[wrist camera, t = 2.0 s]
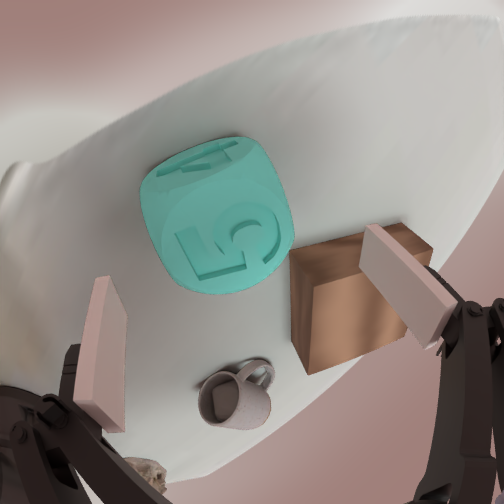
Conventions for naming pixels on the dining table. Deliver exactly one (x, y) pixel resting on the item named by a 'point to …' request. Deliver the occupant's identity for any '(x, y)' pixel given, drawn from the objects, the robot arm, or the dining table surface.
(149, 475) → the ceramic cottage
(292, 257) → the walnut block
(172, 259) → the decorative dice
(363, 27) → the dining table surface
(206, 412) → the ceramic mug
